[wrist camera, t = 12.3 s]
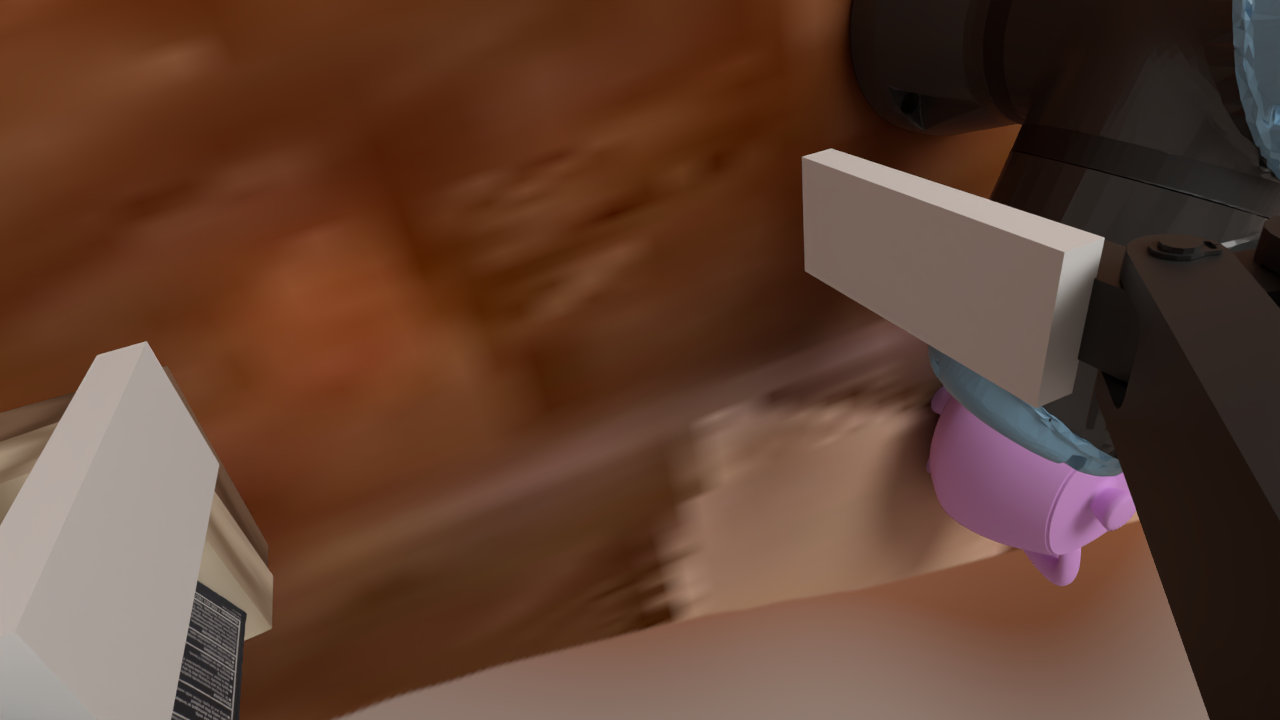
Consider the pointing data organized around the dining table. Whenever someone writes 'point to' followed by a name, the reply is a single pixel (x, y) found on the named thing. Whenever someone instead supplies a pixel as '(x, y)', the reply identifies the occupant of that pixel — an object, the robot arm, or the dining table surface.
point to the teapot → (1020, 492)
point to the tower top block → (226, 548)
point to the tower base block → (53, 410)
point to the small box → (211, 660)
